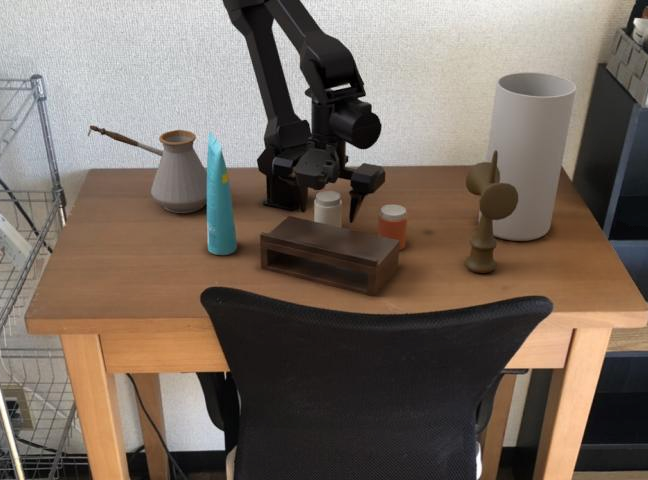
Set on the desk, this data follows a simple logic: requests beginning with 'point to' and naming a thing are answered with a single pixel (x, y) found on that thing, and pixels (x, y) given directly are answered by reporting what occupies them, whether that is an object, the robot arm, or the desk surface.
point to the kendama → (488, 211)
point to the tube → (219, 202)
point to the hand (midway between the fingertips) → (327, 217)
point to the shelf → (330, 255)
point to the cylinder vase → (530, 147)
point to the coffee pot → (174, 171)
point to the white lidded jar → (328, 208)
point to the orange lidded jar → (393, 223)
